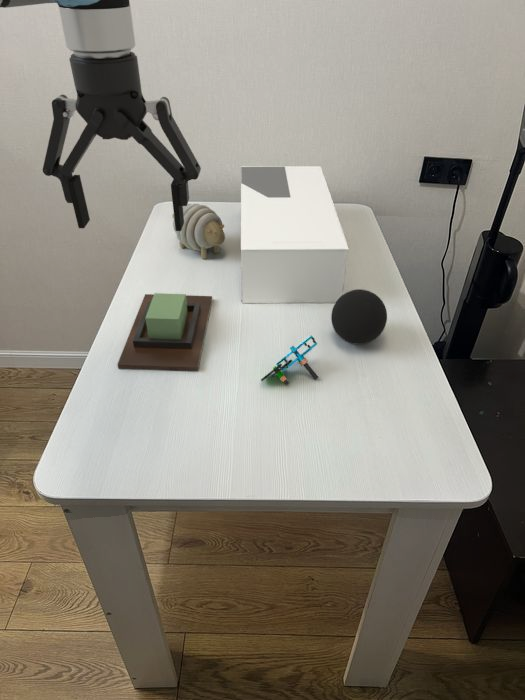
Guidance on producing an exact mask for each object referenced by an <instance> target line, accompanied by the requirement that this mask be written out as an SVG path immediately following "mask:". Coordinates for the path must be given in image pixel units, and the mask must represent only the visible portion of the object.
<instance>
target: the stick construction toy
mask: <svg viewBox="0 0 525 700" xmlns="http://www.w3.org/2000/svg"><path fill="white" fill-rule="evenodd" d="M310 340H312V343H313V344H312V345H310V344H308V343H307V342H309V341H310ZM303 345H304V346H305V347H307V349H305V351H303V352H302V353H300V352H299V351H298V350H299V349H300V348H301V347H302V346H303ZM317 345H318V343H317V341H316V339H315V337H313V335H309V337H307V338H306V339H305V340H303V341H302V342H301V343H299V345H297V346H296V347H295V346H294V345H291V346H290V347H289V350H290V352H288V353H287V354H286V355H285V356H283V357H282V358H281V359H280V360H279V361H277V362H276V363H275V366H273V367H272V370H271V371H269V372H268V373H267V374H265V375H264V376H263V377H262V378H261V379H260V381H261V382H263V381H265V380H266V379H268V377H270V376H271V378H273V377H275V376H277V377H278V378H279V380H280V381H281V382H282V383H284V384H285V386H287V385H289V384H290V382H289V381H288V377H286V376H285V374H284V372H286V371H287V369H289V368H290V367H292V366H293V365H294V364H295V363H297V362H298V364H299V365H300V366H301V367H304V368H305V370H307V372H308V373H309V374H310V375H311V377H312V378H313V379H314V380H315V381H316V380H317V379H319V375H318V374H317V373H316V372H315V371H314V369H313V368H312V367H311V366H310V364H309V363H308V362H309V360H308V359H307V357H305V355H307V354H308V353H309V352H311V351H312V350H313V349H314V348H315V347H316V346H317ZM293 354H294V356H295V357H296V358H295V359H294V360H293V359H289V360H287V359H288V358H289V357H290V356H291V355H293ZM282 362H285V363H284V364H283V363H282Z"/></svg>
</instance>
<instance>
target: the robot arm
mask: <svg viewBox="0 0 525 700" xmlns="http://www.w3.org/2000/svg"><path fill="white" fill-rule="evenodd" d="M130 3H131V2H130V0H0V8H3V9H4V8H5V9H7V8H16V7H25V6H34V5H43V4H57V6H58V11H59V15H60V21H61V25H62V26H61V27H62V31H63V36H64V41H65V46H66V48H67V49H68V50H69V51H71V52H73V53H72V54H71V55H70V57H69V64H70V69H71V74H72V79H73V83H74V88H75V91H76V98H75V99H74V98H68V96H67V95H66V94H60V95H59V96H57V97H56V98H54V99H52V101H51V110H52V117H53V120H52V124H51V130H50V134H49V139H48V143H47V148H46V152H45V157H44V161H43V166H42V173H43V174H44V175H45V176H47V177H51V176H52V177H55V178H57V179H58V180H59V181H60V184H61V189H62V192H63V197H64V200H65V201H66V203H67V204H72V207H73V211H74V215H75V219H76V222H77V227H78V229H85V228H86V226H87V225H88V223H89V222H90V221H91V219H90V215H89V214H90V213H89V210H88V205H87V200H86V197H85V192H84V187H83V183H82V179H81V175H80V174H73V173H74V172H75V170H76V168H77V167H78V166H79V163H80V162H81V160H82V159H83V157H84V155H85V154H86V152H87V151H88V149H89V147H90V146H91V144H92V143H93V141H94V139H95V138H96V136H98V137H100V138H102V140H112V139H117V140H120V141H121V140H122V141H128V140H129V139H131V138H132V139H134V141H135V142H136V143H137V144H139V145H141V146H142V147H143V148H144V149H145V150H146V151H147V152H148V153H149V154H150V155H151V156H152V158H153V159H155V161H156V162H157V163H158V164H159V165H160V166H161V167H162V168H163V169H164V171H165V172H167V174H169V176H170V177H171V178H172V181H171V184H170V192H171V200H172V210H173V214H174V219H173V220H175V229H176V231H181V230H182V227H183V224H184V216H183V206H187V204H189V201H190V192H189V181H192V180H194V181H196V180H197V179H198V178H199V176H200V173H201V170H202V168H201V165H200V164H199V162H198V160H197V157H196V156H195V155H194V153H193V151H192V149H191V148H190V146H189V144H188V142H187V140H186V138H185V136H184V135H183V133H182V131H181V129H180V127H179V125H178V124H177V122H176V120H175V119H174V116H173V113H172V107H171V103H170V100H169V98H168V97H166V96H162V97H161V98H159V99H155V100H147V101H146V99H145V97H144V94H143V92H142V84H141V77H140V75H141V74H140V67H139V61H138V56H137V55H136V53H135V52H133V51H132V49H134V48H135V47H136V40H135V31H134V23H133V16H132V7H131V4H130ZM75 111H76V112H77V114H78V115H79V116H80V117H81V119H83V120H84V122H85V123H86V125H85V126H84V129H83V130H82V131H81V133H80V135H79V138H78V140H77V141H76V143H75V144H74V146H73V148H72V149H71V151H70V153H69V155H68V156H67V158H66V159H65V161H64V163H63V164H60V162H61V159H62V155H63V150H64V146H65V142H66V138H67V134H68V130H69V125H70V122H71V118H72V117H73V116H74V115H75ZM147 113H149V114H151V116H152V118H153V119H154V120H155V121H158V123H159V126H160V128H161V129H162V132H163V134H164V135H165V137H166V138H167V141H168V142H169V144H170V145H171V147H172V149H173V150H174V152H175V154H176V156H177V157H178V159H179V160H178V159H177V158H176V157H175V156H174V155H173V154H172V153H171V152H170V150H169V149H168V148H167V147H166V146H165V145H164V143H162V141H161V140H160V139H159V138H158V137H157V136H156V135H155V134H154V133H153V130H152V129H151V128H150V126H149V125H148V124H147V123H146V122H145V121H144V119H145V117H146V115H147Z"/></svg>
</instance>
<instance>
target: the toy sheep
mask: <svg viewBox="0 0 525 700" xmlns="http://www.w3.org/2000/svg"><path fill="white" fill-rule="evenodd" d="M171 216H172V217H171V218H172V220H173V221H172V226H173V227H172V228H173V230H174V232H175V233H174V234H176V237H177V239H178V240H179V247H180V249H185V248H187V249H189V250H191V251H192V250H193V251H199V252H200V256H201V257H200V258H201V259H202V260H206V259H207V258H208V255H207V249H209V248H212V251H213V253H216V254H218V252H219V246H221V245H223V243H224V242H225V239H226V234H225V232H224V228H225V224H223V222H222V218H221V217H220V216H219V215H218V214H217V213H216V212H215V211H214V210H213V209H211V208H210V207H209V206H207V205H204V204H199V203H188V204H187V206H183V216H184V224H183V227H182V230H181V231H176V229H175V220H174V213H172V215H171Z"/></svg>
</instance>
